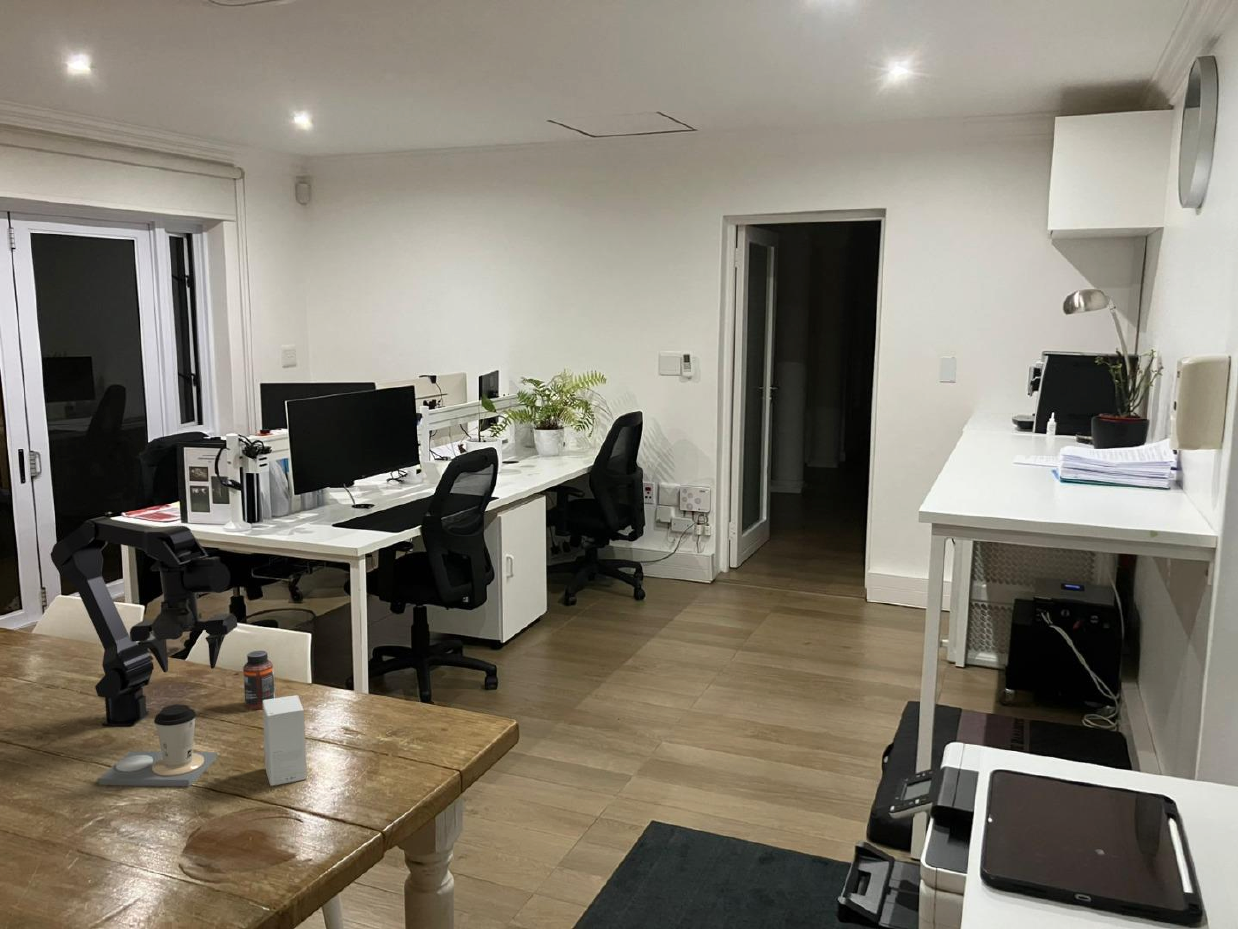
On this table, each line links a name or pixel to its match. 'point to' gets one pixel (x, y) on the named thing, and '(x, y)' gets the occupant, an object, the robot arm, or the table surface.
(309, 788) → the table surface
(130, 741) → the table surface
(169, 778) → the slate board
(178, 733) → the coffee cup
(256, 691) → the supplement bottle
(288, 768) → the small box
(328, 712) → the table surface
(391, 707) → the table surface
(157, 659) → the robot arm
